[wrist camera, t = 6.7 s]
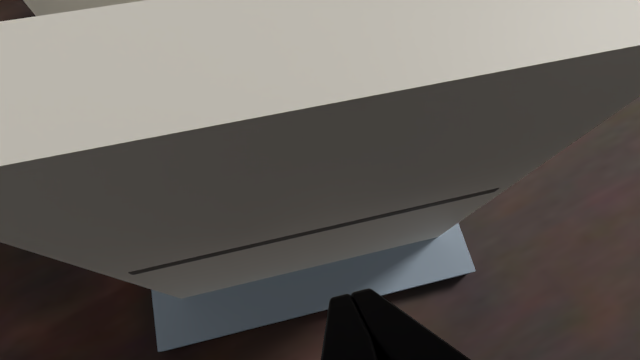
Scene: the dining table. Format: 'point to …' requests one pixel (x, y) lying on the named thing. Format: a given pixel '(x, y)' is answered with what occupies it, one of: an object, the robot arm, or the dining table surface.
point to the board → (306, 290)
